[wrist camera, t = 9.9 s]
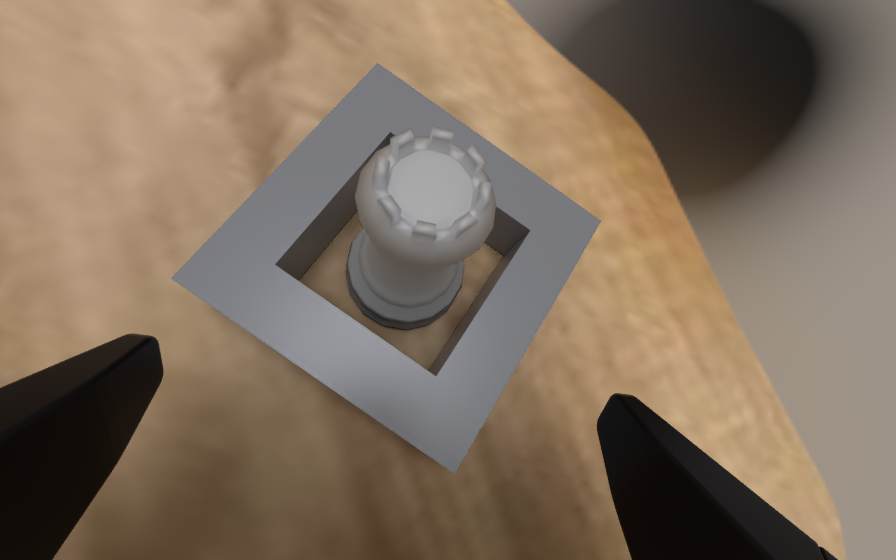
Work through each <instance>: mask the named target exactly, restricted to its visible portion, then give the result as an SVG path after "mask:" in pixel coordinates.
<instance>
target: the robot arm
mask: <svg viewBox="0 0 896 560" xmlns="http://www.w3.org/2000/svg"><path fill="white" fill-rule="evenodd" d="M162 378H163V364H162V359H161V353H160V348H159V343H158V340H157V339H156V338H155V337H153V336H149V335H140V334H127V335H124V336H121V337H119V338H117V339H114V340H112V341H110V342H107V343H105V344H103V345H100V346H98V347H96V348H93V349H91V350H88V351H86V352H84V353H81V354H79V355H77V356H74V357H72V358H70V359H67V360H65V361H63V362H60V363H58V364H55V365H53V366H51V367H48V368H46V369H44V370H41V371H39V372H37V373H34V374H32V375H29V376H27V377H25V378H22V379H20V380H18V381H15V382H13V383H11V384H8V385H6V386H4V387H1V388H0V560H52V559H53V558H54V556H55V555H56V553H57V552H58V550H59V549H60V547H61V546H62V545H63V543H64V542H65V540H66V539H67V537H68V536H69V534H70V533H71V531H72V530H73V528H74V527H75V525H76V524H77V522H78V521H79V519H80V518H81V516H82V515H83V513H84V512H85V511H86V509H87V508H88V506H89V505H90V503H91V502H92V500H93V499H94V497H95V496H96V494H97V493H98V491H99V490H100V488H101V487H102V485H103V484H104V482H105V481H106V479H107V478H108V477H109V475H110V473H111V472H112V470H113V469H114V467H115V466H116V464H117V463H118V461H119V459H120V457H121V456H122V454H123V452H124V450H125V449H126V447H127V445H128V443H129V441H130V439H131V438H132V436H133V434H134V432H135V430H136V428H137V426H138V424H139V423H140V421H141V419H142V417H143V415H144V413H145V411H146V410H147V408H148V406H149V404H150V402H151V400H152V398H153V396H154V395H155V393H156V391H157V389H158V387H159V385H160V383H161V381H162ZM597 432H598V436H599V441H600V445H601V450H602V454H603V459H604V463H605V468H606V472H607V477H608V481H609V486H610V490H611V494H612V498H613V502H614V505H615V508H616V512H617V515H618V518H619V521H620V524H621V527H622V530H623V534H624V537H625V540H626V543H627V546H628V549H629V552H630V555H631V558H632V560H838V559H836V558H835V557H834V556H833V555H831V554H830V553H829V552H828V551H826V550H825V549H824V548H823V547H819V546H818V544H817V543H816V542H815V541H814V540H813V539H811V538H810V537H809V536H808V535H806V534H805V533H804V532H803V531H801V530H800V529H799V528H798V527H796V526H795V525H794V524H793V523H792V522H790V521H789V520H788V519H787V518H785V517H784V516H783V515H782V514H780V513H779V512H778V511H777V510H775V509H774V508H773V507H772V506H770V505H769V504H768V503H767V502H765V501H764V500H763V499H762V498H760V497H759V496H758V495H757V494H755V493H754V492H753V491H752V490H750V489H749V488H748V487H747V486H746V485H744V484H743V483H742V482H741V481H739V480H738V479H737V478H736V477H734V476H733V475H732V474H731V473H729V472H728V471H727V470H726V469H724V468H723V467H722V466H721V465H719V464H718V463H717V462H716V461H714V460H713V459H712V458H711V457H709V456H708V455H707V454H706V453H704V452H703V451H702V450H701V449H700V448H698V447H697V446H696V445H695V444H693V443H692V442H691V441H690V440H688V439H687V438H686V437H685V436H683V435H682V434H681V433H680V432H678V431H677V430H676V429H675V428H673V427H672V426H671V425H670V424H668V423H667V422H666V421H665V420H663V419H662V418H661V417H660V416H658V415H657V414H656V413H655V412H654V411H652V410H651V409H650V408H649V407H647V406H646V405H645V404H644V403H642V402H641V401H640V400H639V399H637V398H636V397H635V396H633V395H628V394H620V393H615V394H613V395H612V396H611V397H610V398H609V400H608V402H607V404H606V405H605V407H604V409H603V411H602V412H601V414H600V416H599V418H598V421H597Z"/></svg>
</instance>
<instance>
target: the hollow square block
mask: <svg viewBox="0 0 896 560" xmlns="http://www.w3.org/2000/svg"><path fill="white" fill-rule="evenodd" d="M432 126H435V127H439V128H443V129H447V130H451V131H455V132H454V135H453V138H452V141H451V143H453V144H455V145H456V146H458V147H459V148H461V149H462V150H464V151H465V152H466V151H467V150H468V149H469V148H470V147H471V146H472V145H473V144H474V145H475V146H476V148H477V149H478V150H479V152H480V153H481V154H482V156H483V157H484V158H485V160H486V161H487V163H486V165H485V167H484V169H483V170H484V171H485V173H486V174H487V175H488V177H489V178H490V181H491V183H493V187H492V188H493V192H494V195H495V199H496V210H495V218H494V226H493V229H492V230H491V232H490V233H489V235H488V237H487V238H486V240H485V241H484V242H485V243H487V244H488V245H490V246H491V247H492V248H494V249H495V250H497V251H498V252H500V253H501V254H502V255H504V256H503V257H502V259H501V260H500V262H499V263H498V265H497V266H496V268H495V270H494V271H493V273H492V274H491V276H490V277H489V279H488V280H487V282H486V283H485V285H484V286H483V288H482V289H481V291H480V292H479V294H478V295H477V297H476V299H475V300H474V302H473V303H472V305H471V306H470V308H469V309H468V311H467V312H466V314H465V315H464V317H463V318H462V320H461V321H460V323H459V325H458V326H457V328H456V329H455V331H454V332H453V334H452V335H451V337H450V338H449V340H448V341H447V343H446V344H445V346H444V347H443V349H442V350H441V352H440V354H439V355H438V357H437V358H436V360H435V361H434V363H433V364H432V366H431V367H430V369H429V370H428V371H427V370H426V369H425V368H423V367H422V366H420V365H419V364H417V363H416V362H414V361H413V360H412V359H410V358H409V357H407V356H406V355H404V354H403V353H402V352H400V351H399V350H397V349H396V348H394V347H393V346H391V345H390V344H389V343H387V342H386V341H384V340H383V339H381V338H380V337H378V336H377V335H376V334H374V333H373V332H371V331H370V330H368V329H367V328H366V327H364V326H363V325H361V324H360V323H358V322H357V321H355V320H354V319H353V318H351V317H350V316H348V315H347V314H345V313H344V312H342V311H341V310H340V309H338V308H337V307H335V306H334V305H332V304H331V303H330V302H328V301H327V300H325V299H324V298H322V297H321V296H319V295H318V294H317V293H315V292H314V291H312V290H311V289H309V288H308V287H306V286H305V285H304V284H302V283H301V282H299V279H300V278H301V277H302V276H303V275H304V273H305V272H306V271H307V270H308V269H309V267H310V266H311V265H312V264H313V263H314V261H315V260H316V259H317V258H318V257H319V255H320V254H321V253H322V252H323V251H324V249H325V248H326V247H327V246H328V245H329V243H330V242H331V241H332V240H333V239H334V238H335V236H336V235H337V234H338V233H339V232H340V230H341V229H342V228H343V227H344V226H345V224H346V223H347V222H348V221H349V220H350V218H351V217H352V216H353V215H354V214H355V212H356V211H357V205H356V201H355V194H356V189H357V185H358V181H359V177H360V172H361V170H362V169H363V168H364V167H365V165H366V164H367V163H368V162H369V160H370V159H371V158H372V157H373V155H374V154H375V153H376V151H378V150H380V149H382V148H384V147H386V146H388V145H389V144H390V138H392V137H394V136H396V135H398V134H400V133H401V132H403V131H405V130H407V129H409V128H410V129H411V132H412V134H413V136H414V138H415V137H424V136H427V137H430V133H431V129H432ZM600 222H601V220H599V219H598V218H597V217H595V216H594V215H592V214H591V213H589V212H588V211H587V210H585V209H584V208H582V207H581V206H580V205H578V204H577V203H575V202H574V201H572V200H571V199H570V198H568V197H567V196H565V195H564V194H563V193H561V192H560V191H558V190H557V189H555V188H554V187H553V186H551V185H550V184H548V183H547V182H546V181H544V180H543V179H541V178H540V177H538V176H537V175H536V174H534V173H533V172H531V171H530V170H528V169H527V168H526V167H524V166H523V165H521V164H520V163H519V162H517V161H516V160H514V159H513V158H511V157H510V156H509V155H507V154H506V153H504V152H503V151H502V150H500V149H499V148H497V147H496V146H494V145H493V144H492V143H490V142H489V141H487V140H486V139H485V138H483V137H482V136H480V135H479V134H477V133H476V132H475V131H473V130H472V129H470V128H469V127H468V126H466V125H465V124H463V123H462V122H460V121H459V120H458V119H456V118H455V117H453V116H452V115H451V114H449V113H448V112H446V111H445V110H443V109H442V108H441V107H439V106H438V105H436V104H435V103H434V102H432V101H431V100H429V99H428V98H426V97H425V96H424V95H422V94H421V93H419V92H418V91H417V90H415V89H414V88H412V87H411V86H409V85H408V84H407V83H405V82H404V81H402V80H401V79H400V78H398V77H397V76H395V75H394V74H392V73H391V72H390V71H388V70H387V69H385V68H384V67H383V66H381V65H380V64H378V63H377V64H376V65H375V66H374V67H373V68H372V69H371V70H370V71H369V72H368V73H367V74H366V76H365V77H364V78H363V79H362V80H361V81H360V82H359V83H358V84H357V85H356V86H355V87H354V88H353V89H352V90H351V91H350V92H349V93H348V94H347V95H346V96H345V97H344V98H343V100H342V101H341V102H340V103H339V104H338V105H337V106H336V107H335V108H334V109H333V110H332V111H331V112H330V113H329V114H328V115H327V116H326V117H325V118H324V119H323V120H322V121H321V122H320V124H319V125H318V126H317V127H316V128H315V129H314V130H313V131H312V132H311V133H310V134H309V135H308V136H307V137H306V138H305V139H304V140H303V141H302V142H301V143H300V144H299V145H298V146H297V148H296V149H295V150H294V151H293V152H292V153H291V154H290V155H289V156H288V157H287V158H286V159H285V160H284V161H283V162H282V163H281V164H280V165H279V166H278V167H277V168H276V169H275V171H274V172H273V173H272V174H271V175H270V176H269V177H268V178H267V179H266V180H265V181H264V182H263V183H262V184H261V185H260V186H259V187H258V188H257V189H256V190H255V191H254V192H253V193H252V195H251V196H250V197H249V198H248V199H247V200H246V201H245V202H244V203H243V204H242V205H241V206H240V207H239V208H238V209H237V210H236V211H235V212H234V213H233V214H232V215H231V216H230V217H229V219H228V220H227V221H226V222H225V223H224V224H223V225H222V226H221V227H220V228H219V229H218V230H217V231H216V232H215V233H214V234H213V235H212V236H211V237H210V238H209V239H208V240H207V241H206V243H205V244H204V245H203V246H202V247H201V248H200V249H199V250H198V251H197V252H196V253H195V254H194V255H193V256H192V257H191V258H190V259H189V260H188V261H187V262H186V263H185V264H184V265H183V267H182V268H181V269H180V270H179V271H178V272H177V273H176V274H175V275H174V276H173V277H172V278H171V279H173V280H174V281H176V282H177V283H179V284H180V285H181V286H183V287H184V288H186V289H187V290H189V291H190V292H192V293H193V294H194V295H196V296H197V297H199V298H200V299H202V300H203V301H205V302H206V303H207V304H209V305H210V306H212V307H213V308H215V309H216V310H218V311H219V312H220V313H222V314H223V315H225V316H226V317H228V318H229V319H231V320H232V321H234V322H235V323H236V324H238V325H239V326H241V327H242V328H244V329H245V330H247V331H248V332H249V333H251V334H252V335H254V336H255V337H257V338H258V339H260V340H261V341H262V342H264V343H265V344H267V345H268V346H270V347H271V348H273V349H274V350H275V351H277V352H278V353H280V354H281V355H283V356H284V357H286V358H287V359H289V360H290V361H291V362H293V363H294V364H296V365H297V366H299V367H300V368H302V369H303V370H304V371H306V372H307V373H309V374H310V375H312V376H313V377H315V378H316V379H317V380H319V381H320V382H322V383H323V384H325V385H326V386H328V387H329V388H330V389H332V390H333V391H335V392H336V393H338V394H339V395H341V396H342V397H344V398H345V399H346V400H348V401H349V402H351V403H352V404H354V405H355V406H357V407H358V408H359V409H361V410H362V411H364V412H365V413H367V414H368V415H370V416H371V417H372V418H374V419H375V420H377V421H378V422H380V423H381V424H383V425H384V426H385V427H387V428H388V429H390V430H391V431H393V432H394V433H396V434H397V435H399V436H400V437H401V438H403V439H404V440H406V441H407V442H409V443H410V444H412V445H413V446H414V447H416V448H417V449H419V450H420V451H422V452H423V453H425V454H426V455H427V456H429V457H430V458H432V459H433V460H435V461H436V462H438V463H439V464H441V465H442V466H443V467H445V468H446V469H448V470H449V471H451V472H452V473H454V474H455V473H456V471H457V469H458V467H459V466H460V464H461V462H462V461H463V459H464V457H465V455H466V454H467V452H468V450H469V448H470V447H471V445H472V443H473V442H474V440H475V438H476V436H477V435H478V433H479V431H480V429H481V428H482V426H483V424H484V423H485V421H486V419H487V417H488V416H489V414H490V412H491V410H492V409H493V407H494V405H495V404H496V402H497V400H498V398H499V397H500V395H501V393H502V391H503V390H504V388H505V386H506V385H507V383H508V381H509V379H510V378H511V376H512V374H513V372H514V371H515V369H516V367H517V366H518V364H519V362H520V360H521V359H522V357H523V355H524V353H525V352H526V350H527V348H528V347H529V345H530V343H531V341H532V340H533V338H534V336H535V334H536V333H537V331H538V329H539V328H540V326H541V324H542V322H543V321H544V319H545V317H546V315H547V314H548V312H549V310H550V309H551V307H552V305H553V303H554V302H555V300H556V298H557V296H558V295H559V293H560V291H561V290H562V288H563V286H564V284H565V283H566V281H567V279H568V277H569V276H570V274H571V272H572V271H573V269H574V267H575V265H576V264H577V262H578V260H579V258H580V257H581V255H582V253H583V252H584V250H585V248H586V246H587V245H588V243H589V241H590V239H591V238H592V236H593V234H594V233H595V231H596V229H597V227H598V226H599V224H600Z"/></svg>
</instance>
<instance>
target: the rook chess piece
mask: <svg viewBox="0 0 896 560" xmlns="http://www.w3.org/2000/svg"><path fill="white" fill-rule="evenodd" d="M454 132H455V131H451V130H447V129H443V128H439V127H435V126H432V129H431V133H430V137H427V136H424V137H415V138H414V136H413V134H412V132H411V129H410V128H409V129H407V130H405V131H403V132H401V133H400V134H398V135H396V136H394V137H392V138H390V144H389V145H388V146H386V147H384V148H382V149H380V150H378V151H376V153H375V154H374V155H373V157H372V158H371V159H370V160H369V162H368V163H367V164H366V165H365V167H364V168H363V169H362V170H361V172H360V177H359V181H358V185H357V189H356V194H355V201H356V205H357V210H358V215H359V220H360V224H361V225H362V227H363V228H362V230H361V231H360V232H359V234H358V235H357V236H356V238H355V239H354V240H353V242H352V243H351V247H350V251H349V255H348V260H347V264H346V267H347V268H346V275H347V280H348V286H349V291H350V294H351V296H352V297H353V299H354V300H355V302H356V303H357V304H358V306H359V307H360V309H361V310H362V312H363V313H364V314H366V315H368V316H369V317H371V318H372V319H374V320H375V321H377V322H379V323H380V324H382V325H384V326H390V327H396V328H401V329H410V328H415V327H419V326H424V325H428V324H430V323H431V322H433V321H434V320H436V319H437V318H438V317H440V316H441V315H443V314H444V313H445V312H447V310H448V309H449V307H450V305H451V304H452V302H453V301H454V299H455V297H456V296H457V294H458V292H459V291H460V289H461V286H462V279H463V272H464V262H463V260H464V259H466V258H467V257H468V256H470V255H471V254H473V253H474V252H476V251H477V250H479V249H480V248H481V246H482V245H483V243H484V241H485V240H486V238H487V237H488V235H489V233H490V232H491V230H492V229H493V226H494V218H495V210H496V199H495V195H494V192H493V188H492V187H493V183H491V181H490V178H489V177H488V175H487V174H486V173H485V171H484V170H483V169H484V167H485V165H486V163H487V161H486V160H485V158H484V157H483V156H482V154H481V153H480V152H479V150H478V149H477V148H476V146H475V145H474V144H473V145H472V146H471V147H470V148H469V149H468V150H467V151H466V152H465V151H464V150H462V149H461V148H459V147H458V146H456V145H455V144H453V143H451V141H452V138H453V135H454Z"/></svg>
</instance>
